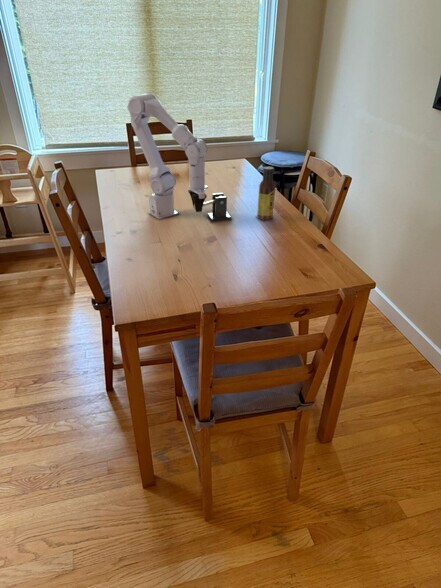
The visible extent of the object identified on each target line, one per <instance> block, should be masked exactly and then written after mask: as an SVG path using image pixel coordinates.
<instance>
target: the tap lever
mask: <svg viewBox="0 0 441 588" xmlns="http://www.w3.org/2000/svg"><path fill="white" fill-rule="evenodd" d="M217 197H223V196H222V195H220V196H217ZM213 203H215V200H212V199H211V200H208V201H204V203H203V207H207V206H209V205H212V204H213ZM194 208H195V204H194V207H193V209H194Z"/></svg>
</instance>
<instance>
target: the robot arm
mask: <svg viewBox="0 0 441 588" xmlns="http://www.w3.org/2000/svg"><path fill="white" fill-rule="evenodd" d="M126 108H127V110H128V113H129V115H130V123H131V127H132V129H133V132H134V133H135V136H136V139H137V141H138V143H139V145H140V149H141V151H142V153H143V155H144V157H145V159H146V162H147V165H148V166H149V169H150V172H149V175H148V179H149V182H150V189H151V190H152V192H153V193H152V194H149V196H148V206H149V211H148V213H149V214H150V215H152V216H153V217H154V218H157V219H158V220H160V219H165V218H169V217H171V216H176V215H179V211H177V210H175V199H174V190H175V189H174V187H176V185H177V177H176V176H175V175H174V174H173V172H172V171H171V169H170V167H168V166H167V165H166V164H164V161H163V159H162V156H161V153H160V152H159V150H158V147H157V144H156V142H155V138H154V136H153V134H152V132H151V130H150V127H149V120H150V118H151V117H153V118H156V120H158V121H159V122H160V123H161V124H162V125H163V126H164V127H166V128H167V129H168V130H169V131H170V132H171V138H172V139H174V141H176V142H177V143H178V144H179V146H181V148H183V150H184V153H185V156H186V157H187V159H188V161H187V162H188V177H189V178H188V179H189V187H188V190H187V192H188V194H189V196H190V199H191V202H192V208H193V209H194V210H195V213H201V212H202V211H203V207H204V206H203V203H204V202H206V199H207V198H208V197H207V196H208V195H207V194H206V193H205V192H206V190H207V189H208V188H209V186H208V185H207V184H206V169H205V168H206V166H205V165H206V163H205V161H206V160H205V159H206V158H205V155H206V154H207V153H208V145H207V143H206V141H205V140H204V139H201V138H198V137H197V136H195V135H194V134H193V133H192V132H191V130H189V126H187V125H184V124H178V122H177V121H176V120H175V119H174V118H173V117H172V116H171V114H170V113H169V112H168V111H167V110H166V108H165V107H164V106H163V105H162V103H161V101H160V99H159V98H157V97H156V95H155V94H153V93H152V92H146V93H143V94H139V95H133V96H131V97H130V98H129V99H128V103H127V106H126ZM194 204H195V208H194Z"/></svg>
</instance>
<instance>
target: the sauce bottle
mask: <svg viewBox="0 0 441 588" xmlns="http://www.w3.org/2000/svg"><path fill="white" fill-rule="evenodd" d="M262 172H263V175H262V180H261V182H260V183H259V186H258V187H259V188H258V198H257V218H258V219H259V220H262V221H269V220H271V219H272V218H273V215H274V209H275V208H274V206H275V196H276V195H275V194H276V185H275V182H274V172H275V167H273V166H264V167H263V168H262Z"/></svg>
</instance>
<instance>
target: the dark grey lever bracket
mask: <svg viewBox="0 0 441 588" xmlns="http://www.w3.org/2000/svg"><path fill="white" fill-rule="evenodd" d="M220 195H222V196H223V197H217V196H220ZM224 195H225V194H224V192H216V193H212V195H211V197H212V199H211V200H215V203H213V204H211V209H212V210H211V212H208V213H207V217H208V219H209V220H210V221H211V223H212V222H220V221H231V220H232V216H231V215H230V213H228V210H227V209H228V208H227V207H228V196H224Z"/></svg>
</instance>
